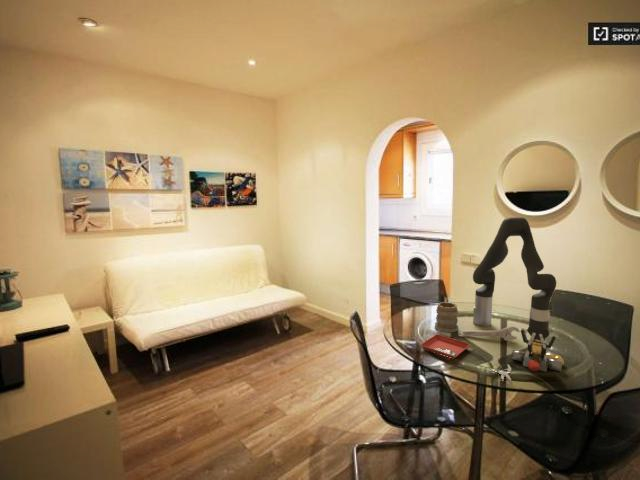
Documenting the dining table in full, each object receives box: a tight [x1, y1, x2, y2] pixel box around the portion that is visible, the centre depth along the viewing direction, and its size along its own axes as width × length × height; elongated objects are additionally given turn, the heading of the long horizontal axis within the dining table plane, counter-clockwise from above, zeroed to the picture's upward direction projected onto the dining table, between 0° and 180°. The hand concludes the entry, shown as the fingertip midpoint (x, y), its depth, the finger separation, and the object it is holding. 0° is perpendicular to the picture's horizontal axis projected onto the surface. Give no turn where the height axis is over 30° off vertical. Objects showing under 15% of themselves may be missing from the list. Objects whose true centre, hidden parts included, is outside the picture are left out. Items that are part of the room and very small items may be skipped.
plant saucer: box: [420, 333, 471, 359], centre depth 176 cm, size 18×18×3 cm
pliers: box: [485, 362, 512, 383], centre depth 154 cm, size 10×2×15 cm
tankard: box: [434, 296, 459, 334], centre depth 205 cm, size 20×13×15 cm, turn 161°
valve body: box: [511, 349, 563, 373], centre depth 158 cm, size 19×13×5 cm
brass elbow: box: [546, 352, 565, 367], centre depth 161 cm, size 7×4×6 cm
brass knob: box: [531, 339, 543, 360], centre depth 159 cm, size 5×5×8 cm
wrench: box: [457, 325, 521, 342], centre depth 187 cm, size 8×2×30 cm
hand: (536, 353), depth 159 cm, fingers closed on brass knob, 4 cm apart
